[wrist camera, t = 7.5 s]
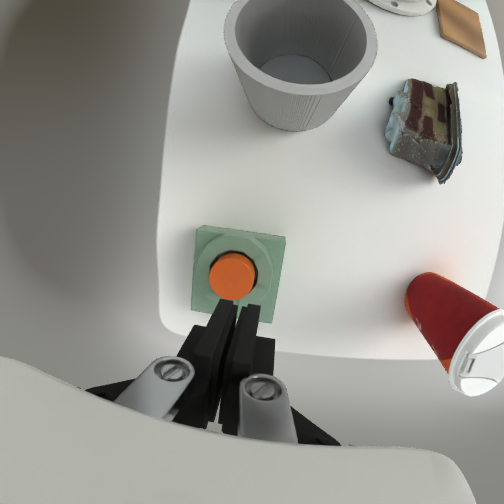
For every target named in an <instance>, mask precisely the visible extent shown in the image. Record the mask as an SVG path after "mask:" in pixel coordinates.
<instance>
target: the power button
mask: <svg viewBox="0 0 504 504" xmlns="http://www.w3.org/2000/svg"><path fill="white" fill-rule="evenodd" d="M254 278H255V270H254V267H253V265H252V263H251V261H250V260H249V259H248V258H246V257H245V256H243V255H241V254H237V253H229V254H225V255H223V256H222V257H220V258H219V259H218V260H217V261H216V263H215V264H214V265H213V267H212V268H211V271H210V274H209V282H210V285H211V287H212V289H213V291H214V292H215V293H216V294H217V295H218V296H220V297H222V298H224V299H227V300H238V299H241V298H243V297H245V296H246V295H247V294H248V293H249V292H250V290H251V289H252V286H253V282H254Z"/></svg>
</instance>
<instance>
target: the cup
mask: <svg viewBox="0 0 504 504" xmlns="http://www.w3.org/2000/svg"><path fill="white" fill-rule="evenodd" d="M373 26H374V25H373V24H372V22H371V20H370V18H369V17H368V15H367V14H366V12H365V11H364V10H363V8H361V6H359V4H357V3H356V1H354V0H237V1H236V2H235V3H234V4H233V5H232V7H231V9H230V10H229V13H228V15H227V17H226V20H225V24H224V32H223V33H224V40H225V45H226V47H227V50H228V52H229V55H230V57H231V60H232V62H233V64H234V67H235V69H236V72H237V74H238V76H239V79H240V81H241V84H242V86H243V88H244V91H245V93H246V96H247V98H248V101H249V103H250V105H251V107H252V109H253V110H254V112H255V113H256V114H257V115H258V116H259V117H260V118H261V119H263V121H265V122H267V123H268V124H270V125H271V126H273V127H276V128H279V129H283V130H287V131H296V132H297V131H306V130H310V129H313V128H315V127H317V126H319V125H321V124H323V123H325V122H326V121H327V120H328V119H329V118H330V117H331V116H332V115H333V114H334V113H335V111H336V110H337V109H338V108H339V107H340V105H341V104H342V103H343V102H344V101H345V99H346V98H347V97H348V96H349V95H350V93H351V92H352V91H353V90H354V89H355V87H356V86H357V85H358V84H359V83H360V81H361V80H362V79H363V78H364V77H365V75H366V74H367V73H368V72H369V70H370V68H371V67H372V65H373V64H374V60H375V58H376V55H377V47H378V46H377V38H376V37H377V36H376V32H375V29H374V27H373ZM284 54H298V55H303V56H306V57H309V58H311V59H313V60H314V61H316V62H317V63H319V64H320V65H321V66H322V67H323V68H324V69H325V70H326V71H327V73H328V74H329V76H330V78H331V80H332V82H328V83H323V84H315V85H313V84H311V85H310V84H308V85H306V84H305V85H304V84H297V83H296V84H294V83H291V82H287V81H282V80H279V79H275V78H273V77H271V76H269V75H268V74H265V73H263V71H261V70H259V69H260V67H261V66H262V65H263V64H264V63H265V62H267V61H268V60H270V59H272V58H273V57H276V56H279V55H284Z"/></svg>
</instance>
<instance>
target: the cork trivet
mask: <svg viewBox="0 0 504 504" xmlns="http://www.w3.org/2000/svg"><path fill="white" fill-rule="evenodd" d="M436 8H437V13H438V20H439V26H440V34H441V37H443V38H445V39H447V40H449V41H451V42H453V43H455V44H457V45H459V46H461V47H463V48H465V49H467V50H469V51H471V52H472V53H474V54H476V55H478V56H479V57H481V58H483V59H484V58H486V50H485V45H484V39H483V34H482V29H481V25H480V21H479V16H478V13H476V12H475V11H473V10H471V9H469V8H468V7H466V6H464V5H462V4H460V3H459V2H457V1H455V0H437V2H436Z"/></svg>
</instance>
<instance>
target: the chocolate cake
mask: <svg viewBox="0 0 504 504" xmlns="http://www.w3.org/2000/svg"><path fill="white" fill-rule="evenodd" d="M457 91H458V87H457V83H456V82H454V83H453V84H447V86H446V89H443V88H440V87H433V86H432V85H431V84H429V83H426V82H424V81H423V82H422V81H418V80H416V79H407V82H406V84H405V89H404V91H403V92H402V91H398V92H397V94H396V96H397V97H395V98H393V97H392V98H390V100H389V103H390V105H391V106H393V108H394V109H393V111H392V113H391V116H390V119H389V121H388V124H387V127H386V131H385V138H386V140H388V141H390V142H391V144H390V153H391V154H392V155H395V156H397V157H402V158H405V159H406V160H408V161H410V162H413V163H416V164H419V165H421V166H423V167H425V168H427V169H429V170H430V171H431V172H433V174H434V175H435V176H436V177H437V179H438V182H439V184H442V183H444V184H445V182H446V180H448V179H449V178H450V176H451V174H452V173H453V170H454V168H455V166H458V164H460V163H461V160H462V153H463V152H462V142H461V141H462V139H461V136H462V135H461V133H462V128H461V127H462V125H461V119H460V109H459V98H458V93H457Z"/></svg>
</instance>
